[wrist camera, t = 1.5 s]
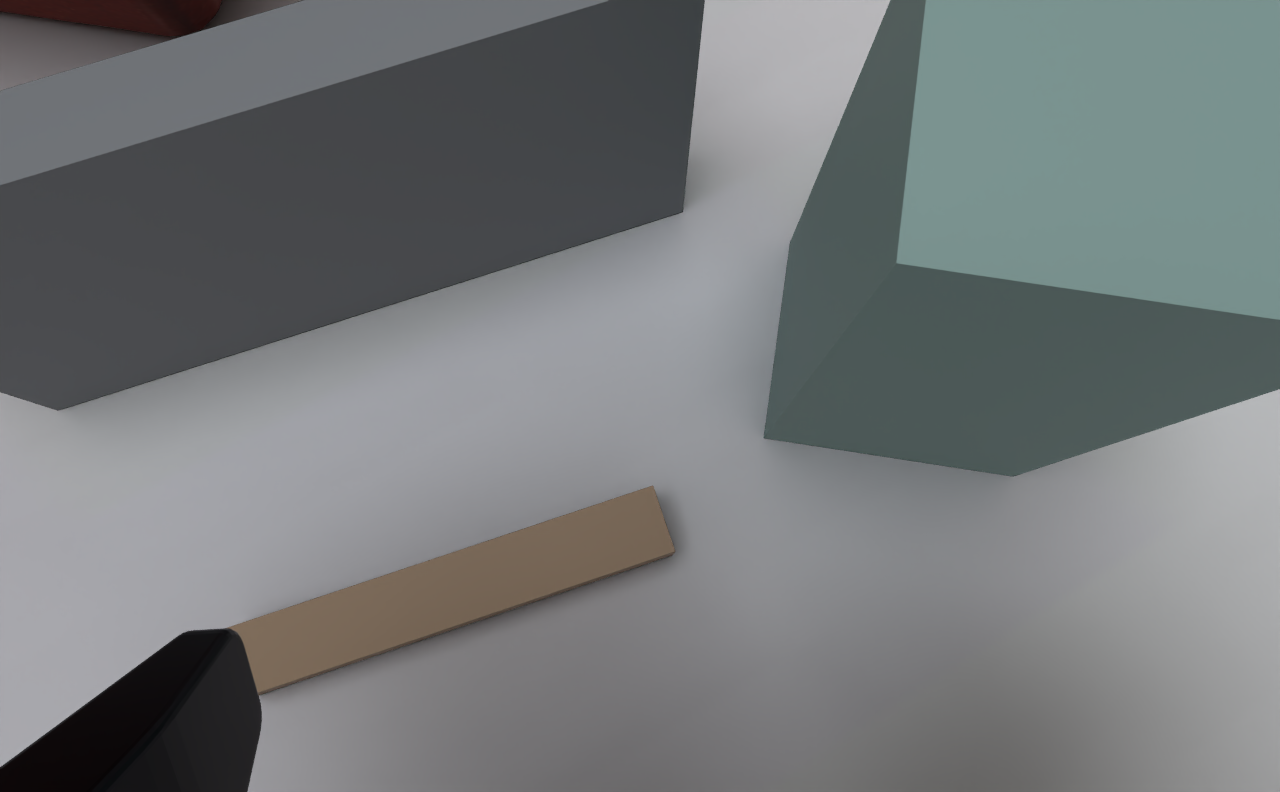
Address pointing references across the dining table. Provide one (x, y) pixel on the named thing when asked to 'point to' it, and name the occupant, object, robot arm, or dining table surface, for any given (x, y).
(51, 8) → the plant pot
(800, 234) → the cabinet box
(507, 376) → the dining table surface
